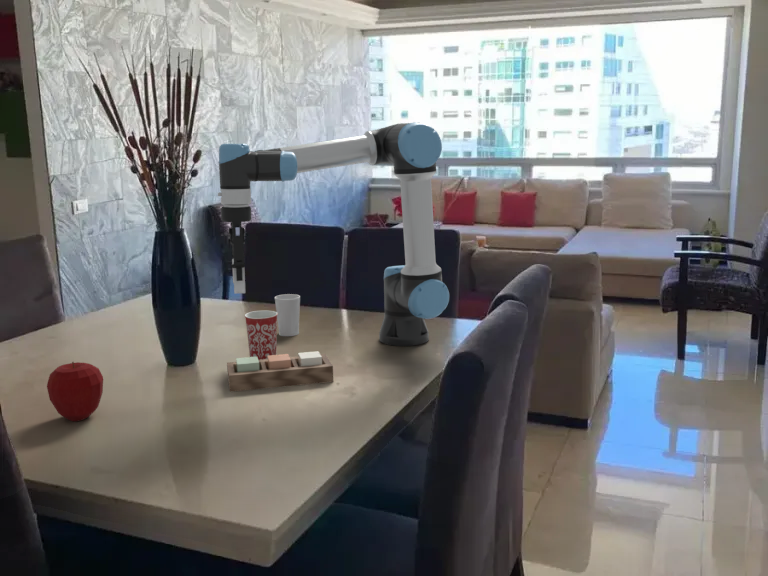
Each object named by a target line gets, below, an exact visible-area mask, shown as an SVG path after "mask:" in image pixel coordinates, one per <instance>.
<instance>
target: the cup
mask: <svg viewBox="0 0 768 576" xmlns="http://www.w3.org/2000/svg"><path fill="white" fill-rule="evenodd" d="M274 302H275V310H276V311H275V312H277V313H278V315H277V329H278V335H279V336H281V337H294V336H297V335H299V334H300V310H301V309H300V308H301V307H300V306H301V295H299V294H296V293H295V294H294V293H293V294H292V293H291V294H290V293H287V294H286V293H285V294H279V295H276V296H274Z"/></svg>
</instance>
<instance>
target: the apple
mask: <svg viewBox="0 0 768 576" xmlns="http://www.w3.org/2000/svg"><path fill="white" fill-rule="evenodd" d="M47 380H48V381H47V384H46V389H47V394H48V398H49V401H50V403H51V404H52V405H53V407H54V409H55V410H56V411H57V413H58V414H59V415H60V416H61V417H63V418H65V419H66V420H68V421H70V422H79V421H83V420H85V419H87V418H89V417H90V416H91V415H92V414H93V413H95V411H96V410H97V409H98V408H99V405H100V402H101V399H102V395H103V388H104V376H103V374H102V372H101V371H100V369H99V367H97V366H95V365H93V364H91V363H88V362H74V361H72V362H71V363H66V364H62V365H59V366H57V367H56V368H55V369H54V370H53V371H52V372H51V373H50V374H49V377H48V379H47Z"/></svg>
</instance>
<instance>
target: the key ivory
mask: <svg viewBox="0 0 768 576" xmlns="http://www.w3.org/2000/svg"><path fill="white" fill-rule="evenodd" d="M320 354H321V353H320V351H318V350H317V351H305V352H298V353H297V356H298V364H299V367H301V366H312V365H322V356H321V355H320Z"/></svg>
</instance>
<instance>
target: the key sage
mask: <svg viewBox="0 0 768 576" xmlns="http://www.w3.org/2000/svg"><path fill="white" fill-rule="evenodd" d="M235 362H236V365H237V372H246V371H257V370H259V361H258V357H250V356H248V357H247V356H245V357H236V358H235Z"/></svg>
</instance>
